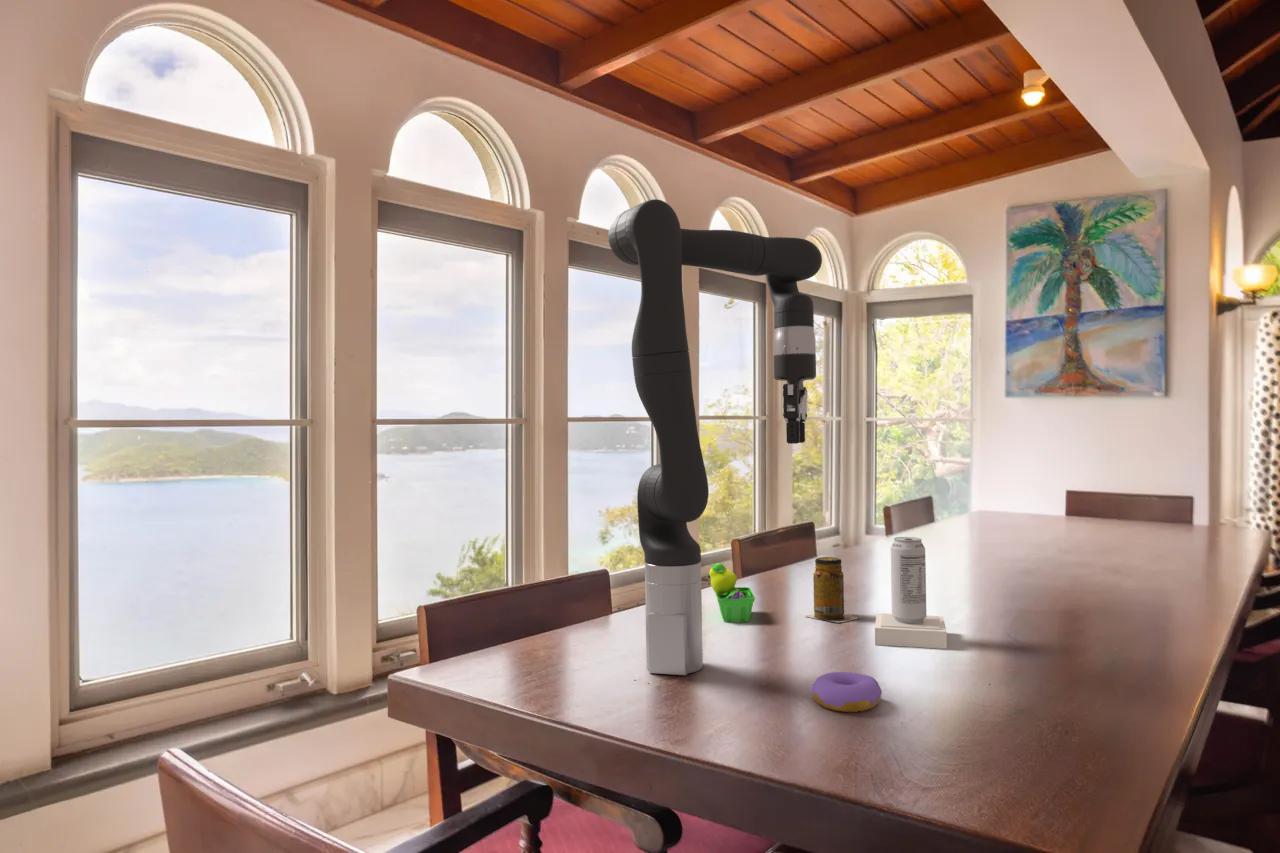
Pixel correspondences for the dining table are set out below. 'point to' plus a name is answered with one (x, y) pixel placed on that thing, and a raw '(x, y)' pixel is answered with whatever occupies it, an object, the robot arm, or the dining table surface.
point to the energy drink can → (908, 580)
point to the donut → (846, 691)
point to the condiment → (829, 591)
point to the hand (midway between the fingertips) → (796, 443)
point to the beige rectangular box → (911, 632)
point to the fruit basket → (731, 595)
